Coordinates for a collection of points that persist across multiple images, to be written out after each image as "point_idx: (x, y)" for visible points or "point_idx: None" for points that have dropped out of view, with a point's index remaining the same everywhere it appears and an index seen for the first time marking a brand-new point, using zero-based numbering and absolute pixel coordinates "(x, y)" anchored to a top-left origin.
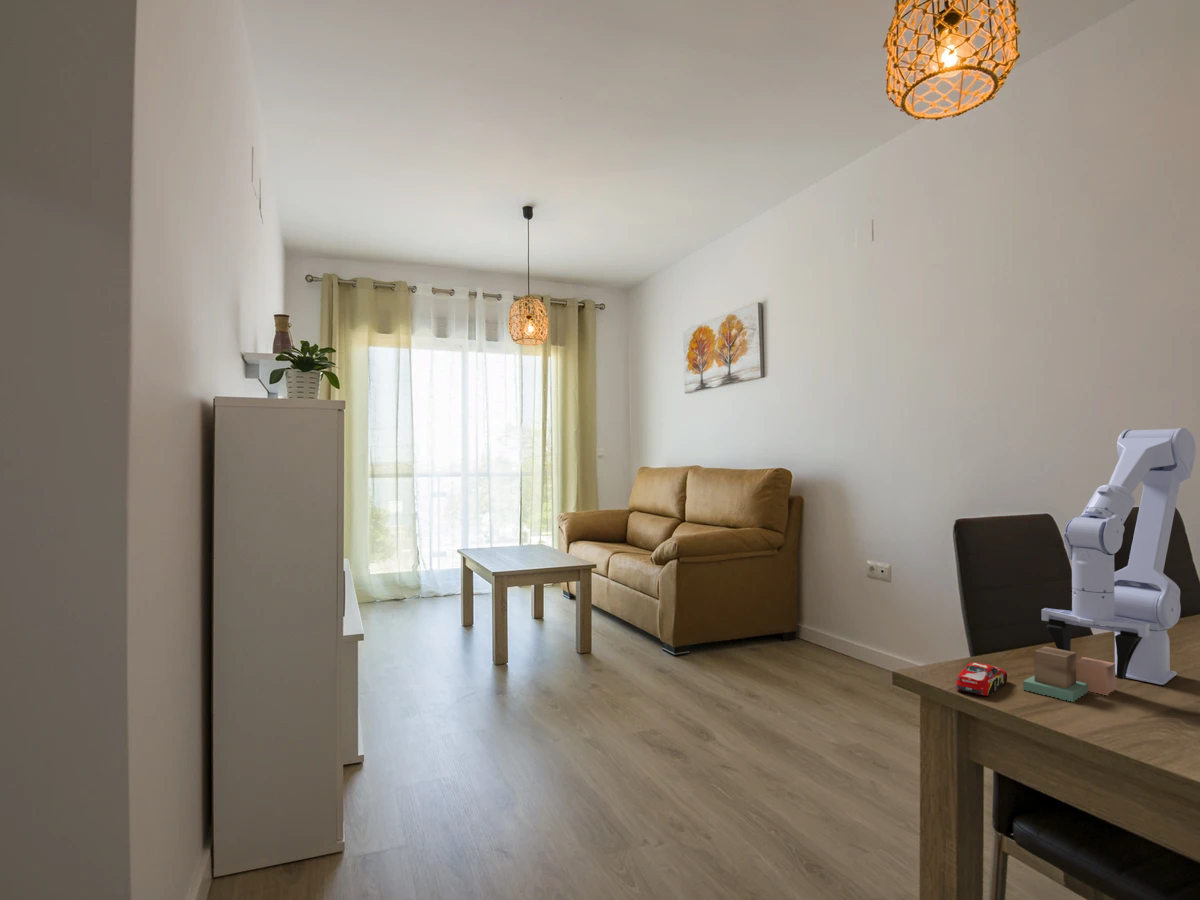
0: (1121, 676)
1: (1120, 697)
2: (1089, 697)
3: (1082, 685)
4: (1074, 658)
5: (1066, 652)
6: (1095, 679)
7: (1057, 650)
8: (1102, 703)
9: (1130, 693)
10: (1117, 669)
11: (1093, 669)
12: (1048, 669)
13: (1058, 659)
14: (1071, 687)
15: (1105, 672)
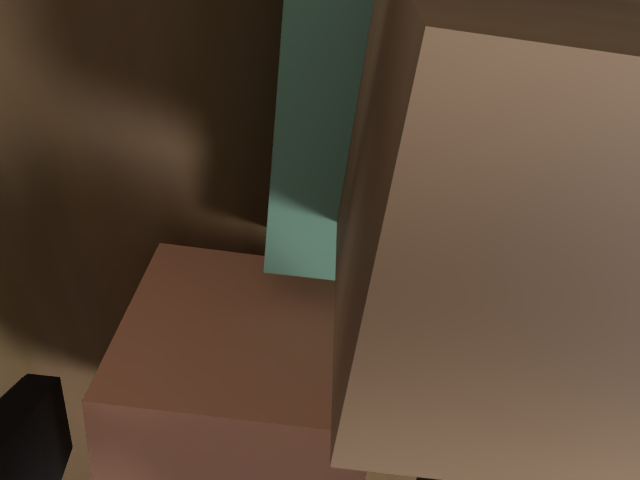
0: (13, 388)
1: (88, 269)
2: (233, 120)
3: (280, 184)
4: (340, 359)
5: (448, 392)
6: (208, 321)
7: (581, 416)
8: (112, 19)
9: (83, 381)
10: (8, 429)
11: (204, 385)
12: (636, 2)
13: (556, 28)
14: (346, 37)
15: (104, 369)
